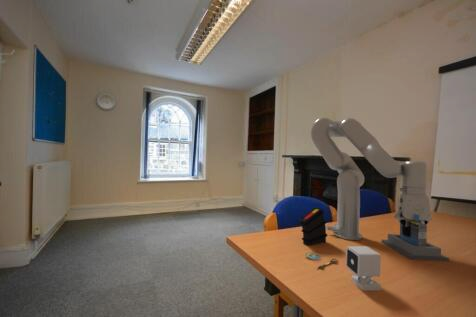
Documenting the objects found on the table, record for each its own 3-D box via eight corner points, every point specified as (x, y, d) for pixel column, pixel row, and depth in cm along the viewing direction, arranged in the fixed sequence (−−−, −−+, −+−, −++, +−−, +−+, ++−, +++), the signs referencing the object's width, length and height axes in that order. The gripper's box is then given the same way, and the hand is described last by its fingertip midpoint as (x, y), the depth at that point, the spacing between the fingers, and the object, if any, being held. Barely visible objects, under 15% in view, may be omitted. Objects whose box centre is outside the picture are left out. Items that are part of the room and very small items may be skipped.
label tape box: (427, 247, 86) (428, 215, 86) (417, 247, 85) (419, 215, 85) (407, 239, 94) (408, 210, 94) (398, 239, 94) (400, 210, 94)
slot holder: (409, 259, 82) (410, 247, 82) (381, 242, 99) (381, 232, 99) (448, 261, 81) (449, 249, 81) (413, 243, 98) (414, 234, 98)
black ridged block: (331, 237, 97) (322, 208, 94) (312, 255, 92) (301, 224, 89) (324, 234, 101) (315, 206, 98) (305, 251, 95) (295, 221, 92)
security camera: (345, 279, 66) (346, 245, 66) (367, 278, 67) (368, 245, 67) (358, 291, 60) (359, 254, 60) (382, 291, 60) (383, 254, 60)
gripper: (398, 191, 87) (397, 238, 86) (443, 193, 86) (442, 240, 86) (386, 189, 94) (385, 232, 94) (427, 190, 93) (426, 234, 93)
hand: (412, 235), depth 90 cm, fingers closed on label tape box, 4 cm apart
